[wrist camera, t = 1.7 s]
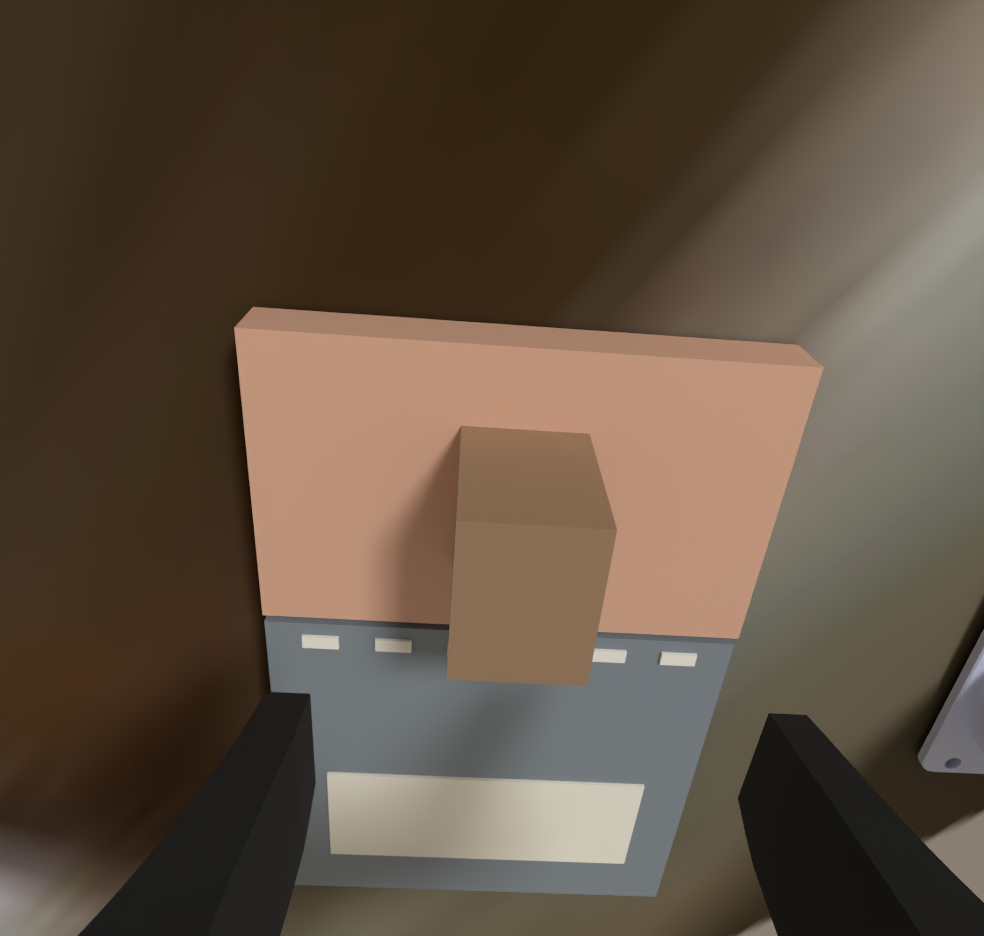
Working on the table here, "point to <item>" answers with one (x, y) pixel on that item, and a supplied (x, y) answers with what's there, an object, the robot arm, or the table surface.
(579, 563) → the pink panel with block
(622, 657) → the ticket board
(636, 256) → the table surface
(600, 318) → the table surface
